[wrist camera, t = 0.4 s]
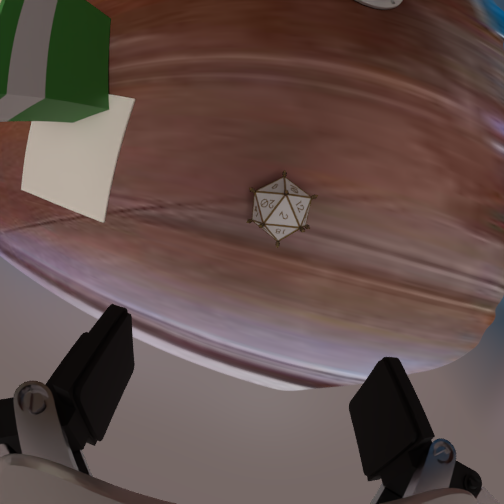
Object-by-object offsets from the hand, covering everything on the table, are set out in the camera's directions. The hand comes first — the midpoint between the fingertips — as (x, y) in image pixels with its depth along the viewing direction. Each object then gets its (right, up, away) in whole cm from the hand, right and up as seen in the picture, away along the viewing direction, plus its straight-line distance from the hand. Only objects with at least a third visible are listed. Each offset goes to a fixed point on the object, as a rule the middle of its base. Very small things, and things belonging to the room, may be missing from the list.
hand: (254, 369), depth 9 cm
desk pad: (-31, +21, +26) cm, 45 cm away
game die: (+4, +11, +29) cm, 31 cm away
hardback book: (-26, +33, +21) cm, 47 cm away
